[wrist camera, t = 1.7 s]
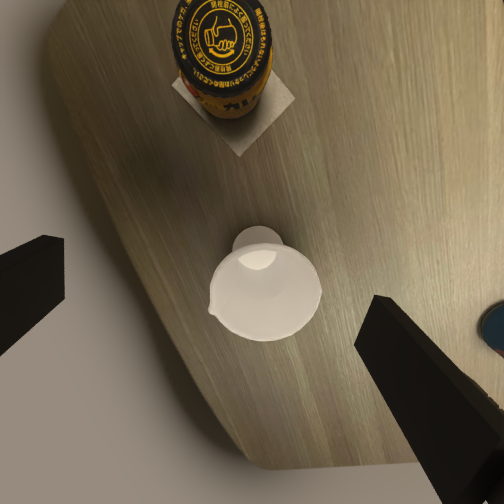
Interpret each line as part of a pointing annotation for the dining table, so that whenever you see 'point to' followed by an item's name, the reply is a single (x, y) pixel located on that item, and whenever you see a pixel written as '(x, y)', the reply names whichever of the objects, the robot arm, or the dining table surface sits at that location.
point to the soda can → (494, 329)
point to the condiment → (228, 67)
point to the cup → (264, 287)
